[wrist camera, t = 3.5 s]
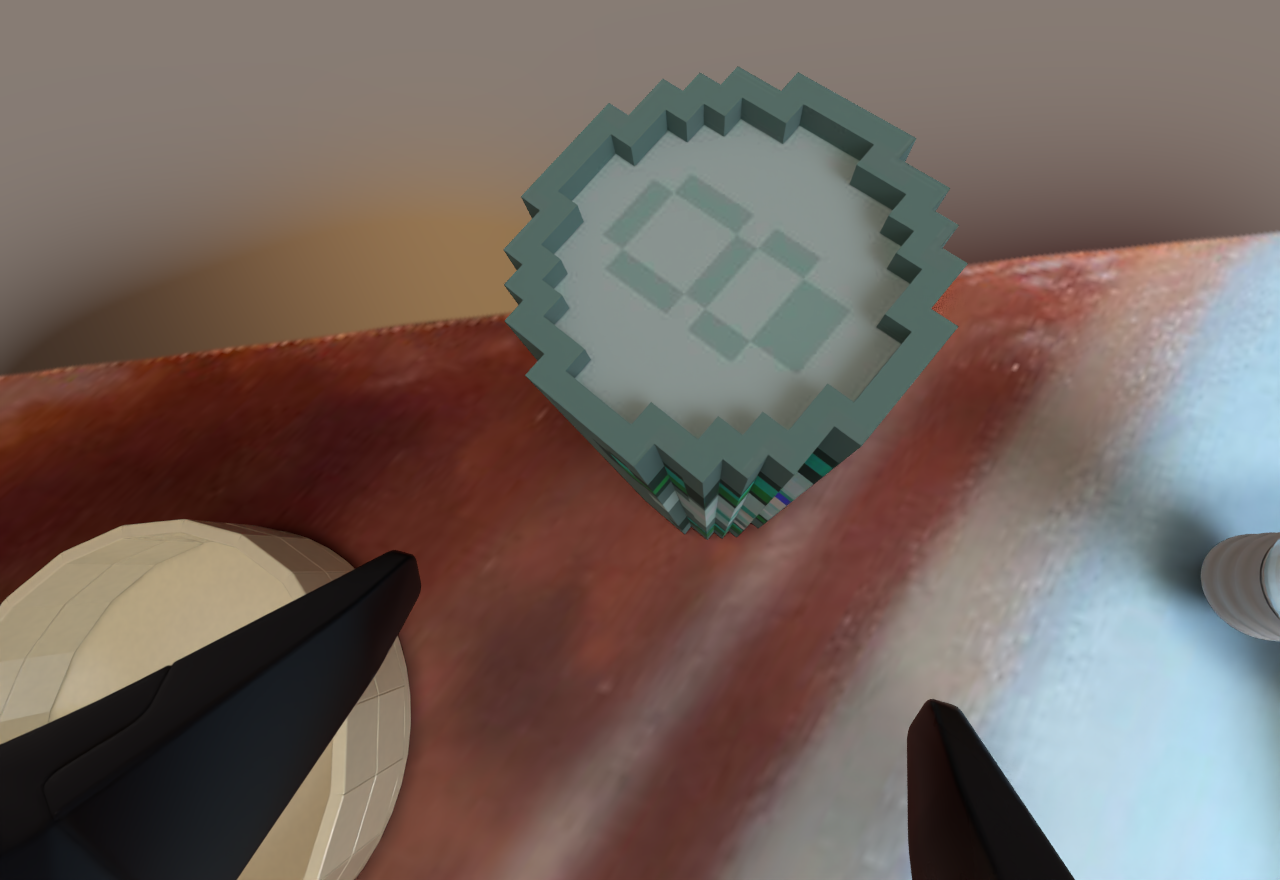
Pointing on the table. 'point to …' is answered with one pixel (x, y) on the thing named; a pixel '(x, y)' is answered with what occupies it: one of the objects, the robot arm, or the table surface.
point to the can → (731, 290)
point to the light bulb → (1245, 583)
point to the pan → (183, 623)
